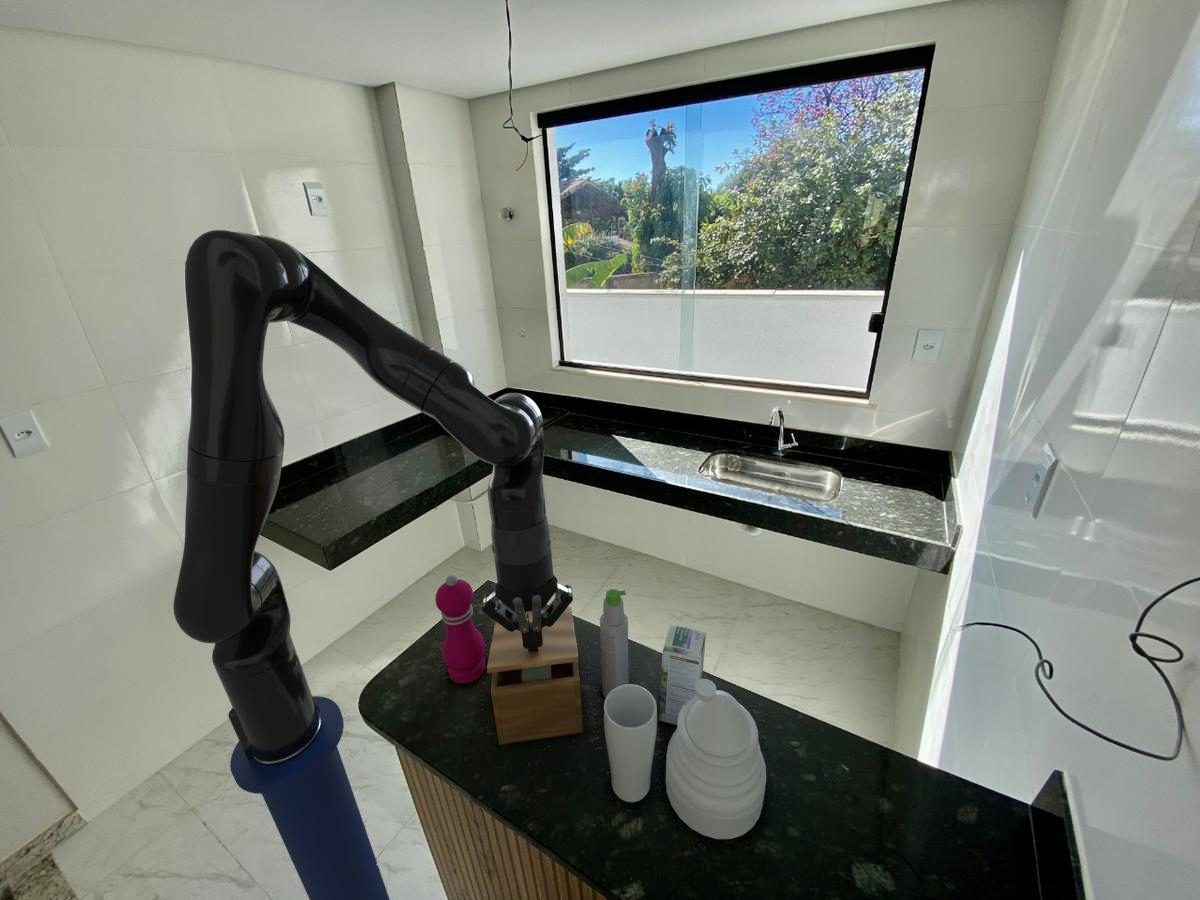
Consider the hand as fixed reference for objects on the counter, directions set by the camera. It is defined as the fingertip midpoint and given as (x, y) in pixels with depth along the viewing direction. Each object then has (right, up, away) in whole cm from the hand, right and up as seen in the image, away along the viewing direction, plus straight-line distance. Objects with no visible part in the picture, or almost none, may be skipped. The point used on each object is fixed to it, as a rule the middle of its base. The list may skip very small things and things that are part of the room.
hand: (533, 647), depth 70 cm
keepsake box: (0, -12, +9) cm, 15 cm away
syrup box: (+23, -13, +6) cm, 27 cm away
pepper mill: (-14, -10, +15) cm, 23 cm away
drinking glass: (+14, -17, -4) cm, 23 cm away
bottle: (+12, -12, +10) cm, 20 cm away
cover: (0, 0, +4) cm, 4 cm away
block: (0, -12, +7) cm, 14 cm away
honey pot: (+25, -17, -5) cm, 31 cm away
